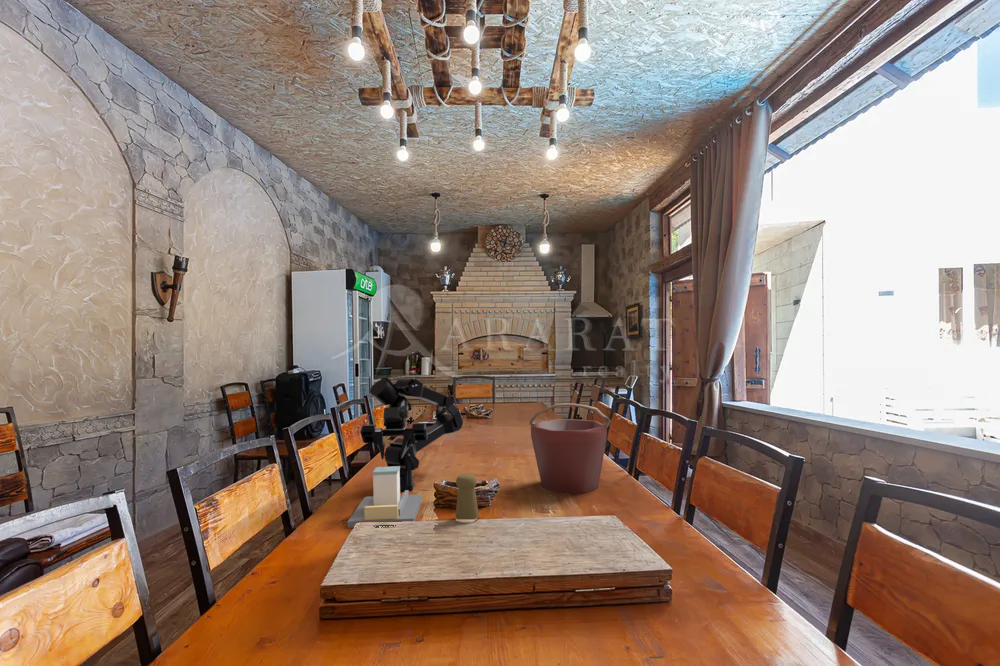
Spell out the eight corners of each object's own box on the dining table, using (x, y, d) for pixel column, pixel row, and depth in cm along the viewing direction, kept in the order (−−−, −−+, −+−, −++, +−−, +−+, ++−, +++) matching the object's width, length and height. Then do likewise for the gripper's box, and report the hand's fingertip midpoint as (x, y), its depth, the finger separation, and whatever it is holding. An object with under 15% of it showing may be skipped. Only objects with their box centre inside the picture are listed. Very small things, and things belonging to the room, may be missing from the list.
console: (365, 501, 137) (365, 485, 137) (422, 499, 138) (421, 483, 138) (347, 527, 117) (347, 509, 118) (413, 524, 118) (413, 506, 118)
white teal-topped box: (377, 503, 129) (376, 467, 130) (400, 502, 130) (399, 466, 130) (373, 510, 124) (372, 472, 124) (397, 509, 124) (396, 471, 125)
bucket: (620, 482, 150) (618, 401, 151) (594, 502, 131) (591, 410, 132) (550, 472, 163) (547, 398, 164) (516, 490, 144) (514, 406, 145)
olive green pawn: (475, 523, 118) (474, 478, 118) (452, 522, 119) (451, 477, 119) (481, 515, 124) (480, 472, 124) (459, 514, 125) (458, 471, 125)
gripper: (361, 397, 140) (352, 443, 129) (425, 395, 142) (422, 440, 130) (367, 420, 148) (359, 465, 137) (428, 418, 149) (426, 462, 138)
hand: (391, 458), depth 135 cm, fingers open, 5 cm apart
